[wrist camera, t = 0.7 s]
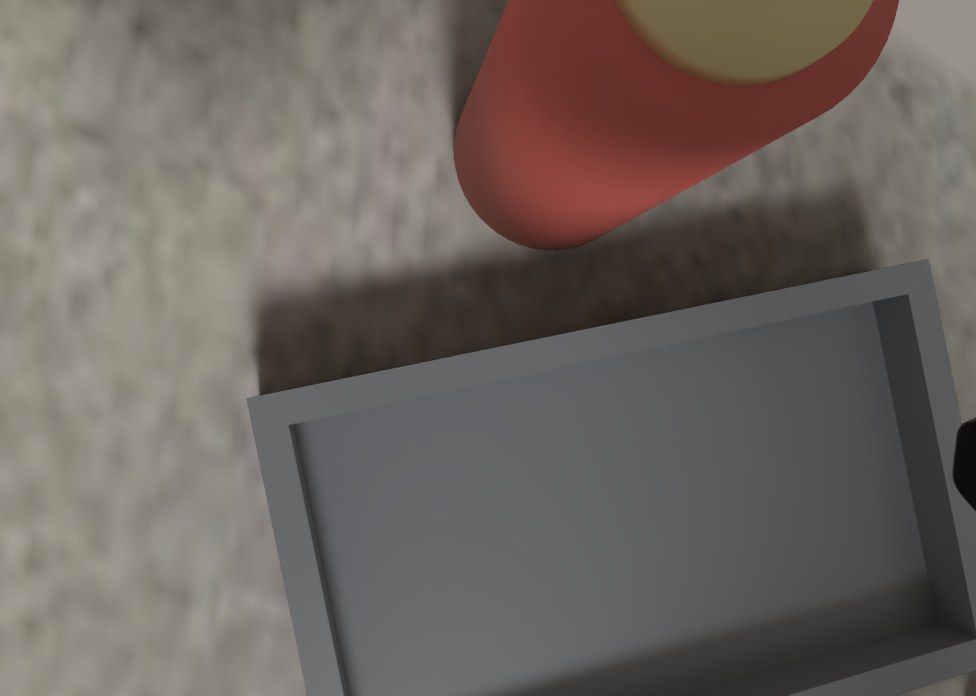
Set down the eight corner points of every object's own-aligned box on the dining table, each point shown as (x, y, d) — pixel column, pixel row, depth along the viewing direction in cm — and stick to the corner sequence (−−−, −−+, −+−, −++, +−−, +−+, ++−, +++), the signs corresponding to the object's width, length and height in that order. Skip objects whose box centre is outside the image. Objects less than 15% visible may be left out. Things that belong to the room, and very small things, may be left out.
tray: (941, 630, 24) (1009, 659, 21) (343, 806, 21) (341, 864, 18) (869, 270, 24) (928, 259, 21) (259, 395, 21) (246, 398, 18)
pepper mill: (678, 167, 23) (1086, -90, 10) (542, 290, 22) (798, 177, 9) (556, 20, 22) (824, -444, 10) (413, 140, 22) (497, -194, 9)
